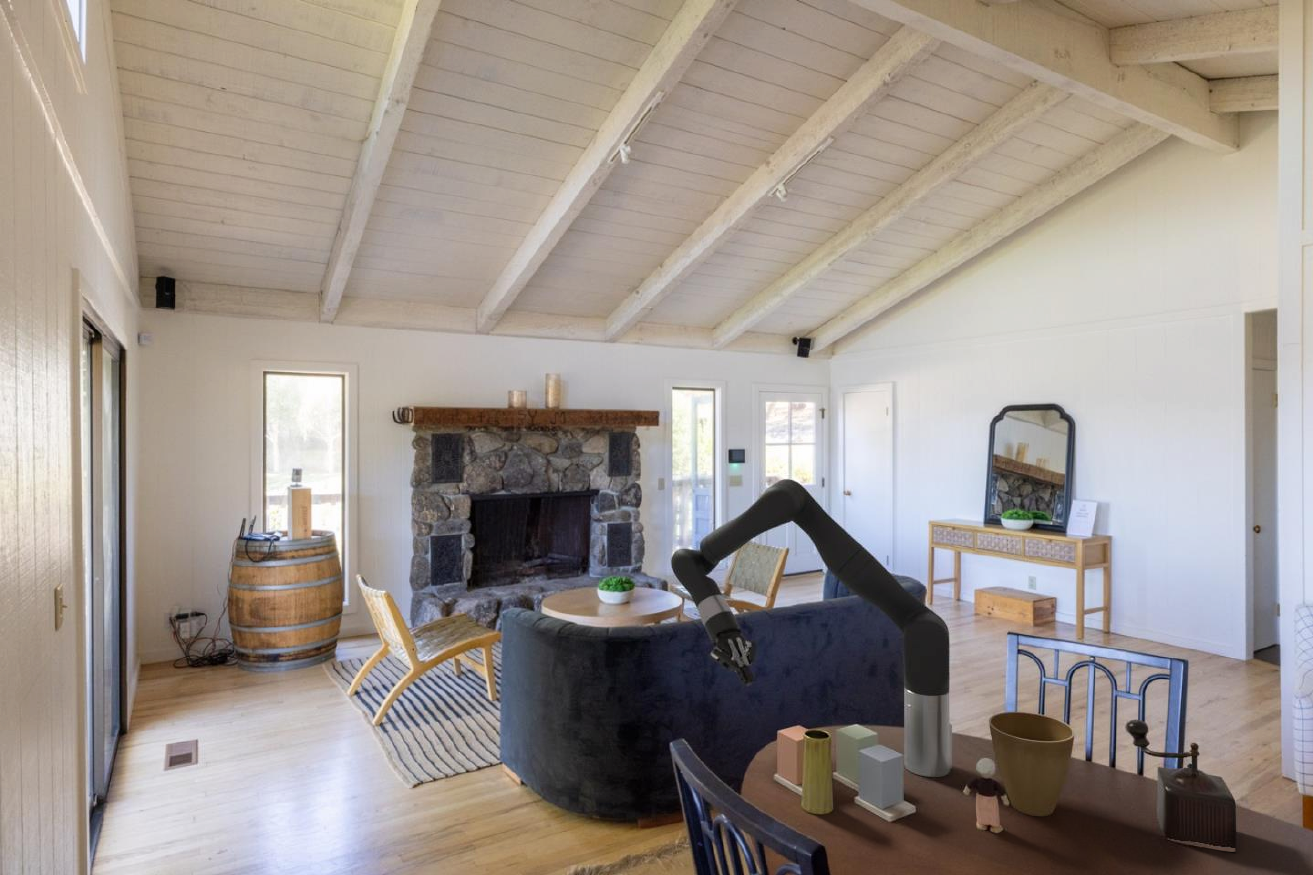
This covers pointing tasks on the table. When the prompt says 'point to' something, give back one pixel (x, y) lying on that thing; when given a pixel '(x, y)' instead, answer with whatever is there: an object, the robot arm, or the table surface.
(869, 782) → the slate block
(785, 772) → the terracotta block
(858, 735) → the sage block
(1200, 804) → the dark brown coffee grinder
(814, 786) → the vase
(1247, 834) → the table surface
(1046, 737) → the plant pot
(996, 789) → the grandmother figurine
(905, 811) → the block bases
